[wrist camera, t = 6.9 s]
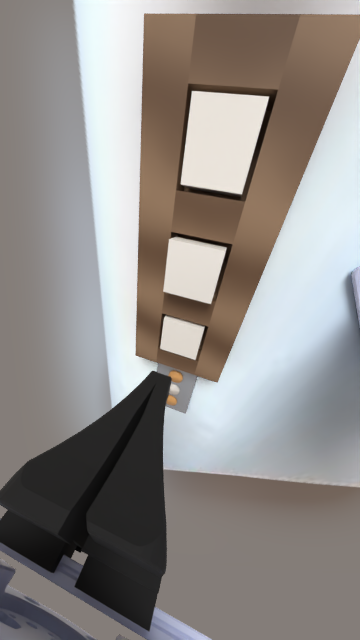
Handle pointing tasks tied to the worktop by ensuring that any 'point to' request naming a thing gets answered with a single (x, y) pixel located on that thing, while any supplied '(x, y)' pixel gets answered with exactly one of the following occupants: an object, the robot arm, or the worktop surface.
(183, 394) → the pattern card
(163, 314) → the button panel
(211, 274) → the middle button
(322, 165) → the worktop surface
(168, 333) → the far button
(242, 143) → the near button
